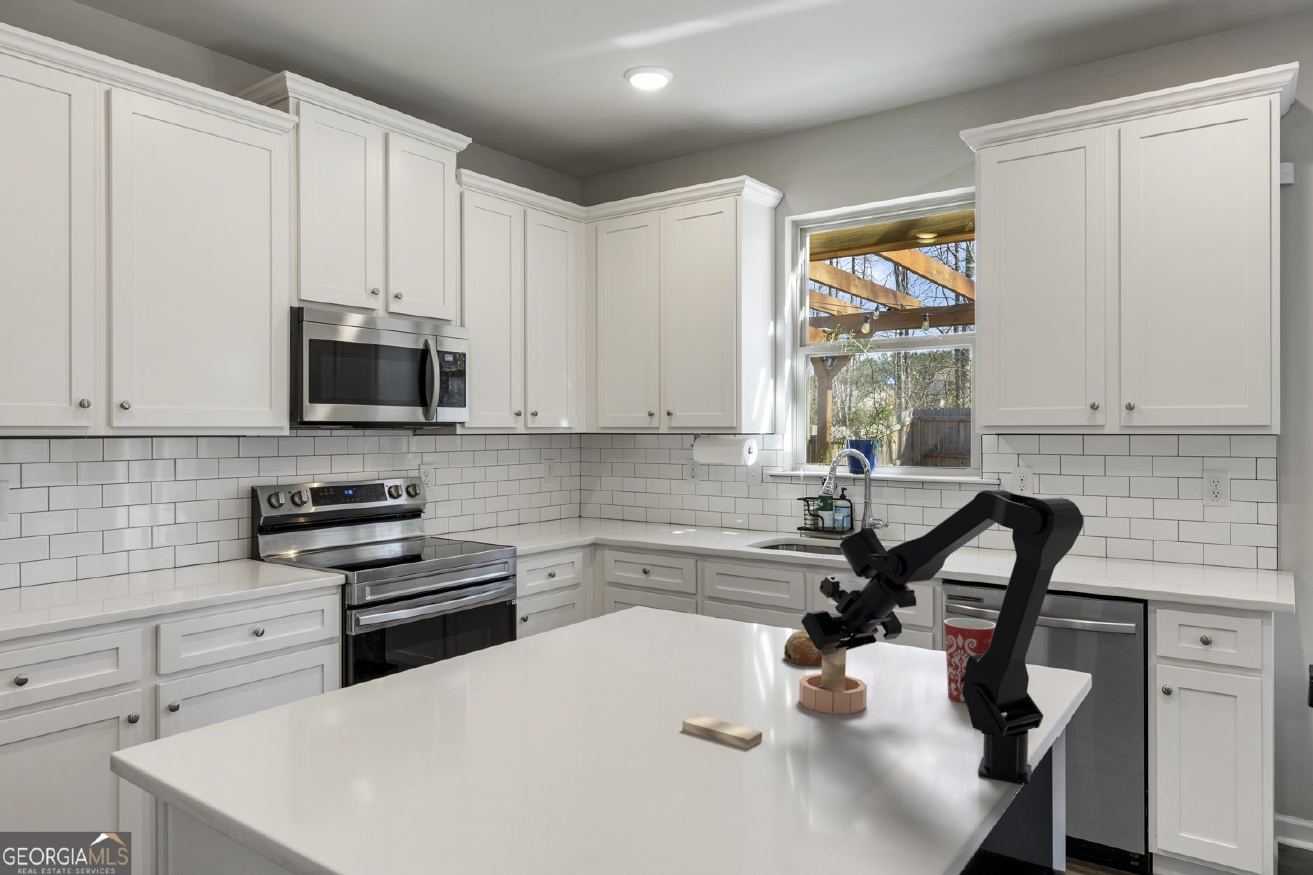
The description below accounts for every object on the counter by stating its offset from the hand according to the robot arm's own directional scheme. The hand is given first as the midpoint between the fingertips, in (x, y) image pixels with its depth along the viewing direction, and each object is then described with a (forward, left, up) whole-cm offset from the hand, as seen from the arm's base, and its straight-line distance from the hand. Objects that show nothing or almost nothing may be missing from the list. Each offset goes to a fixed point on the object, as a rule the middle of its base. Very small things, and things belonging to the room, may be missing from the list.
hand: (828, 652), depth 147 cm
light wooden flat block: (-25, +10, -9) cm, 28 cm away
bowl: (-1, -1, -8) cm, 9 cm away
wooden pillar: (-1, -1, -8) cm, 8 cm away
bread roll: (+25, +11, -9) cm, 28 cm away
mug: (+13, -23, -9) cm, 28 cm away
